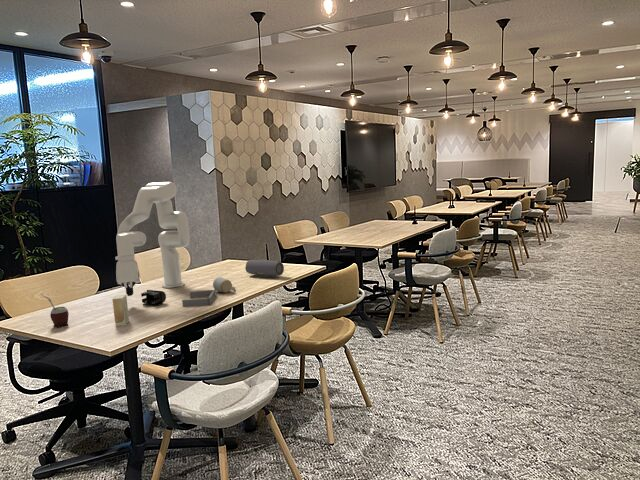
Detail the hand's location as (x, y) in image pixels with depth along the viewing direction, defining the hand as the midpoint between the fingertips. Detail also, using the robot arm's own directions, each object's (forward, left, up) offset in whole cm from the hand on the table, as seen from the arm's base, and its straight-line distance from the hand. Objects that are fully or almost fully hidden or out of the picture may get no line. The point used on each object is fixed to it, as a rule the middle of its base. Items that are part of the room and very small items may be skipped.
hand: (130, 295), depth 251 cm
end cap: (-1, +11, -6) cm, 12 cm away
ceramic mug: (-17, +44, -6) cm, 48 cm away
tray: (-1, +33, -5) cm, 34 cm away
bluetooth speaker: (-50, +63, -6) cm, 80 cm away
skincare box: (+31, +6, -6) cm, 32 cm away
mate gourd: (+28, -22, -6) cm, 36 cm away
